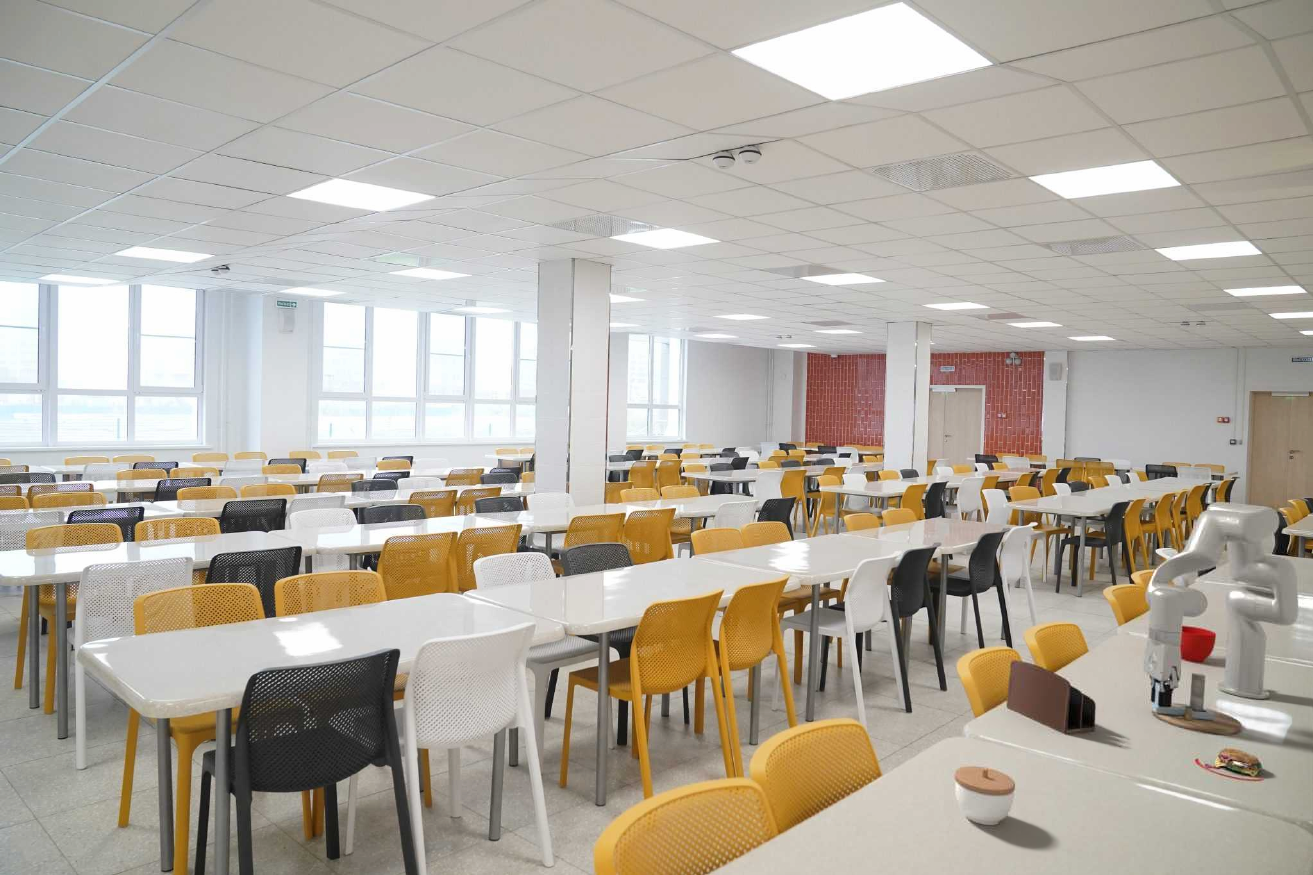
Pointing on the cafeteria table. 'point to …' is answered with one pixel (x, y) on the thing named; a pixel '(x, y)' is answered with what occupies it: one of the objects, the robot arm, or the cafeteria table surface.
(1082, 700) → the letter holder
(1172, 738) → the cafeteria table surface
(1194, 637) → the red bowl
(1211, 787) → the cafeteria table surface
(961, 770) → the lidded jar
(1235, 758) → the hamburger
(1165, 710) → the blue square ring handle
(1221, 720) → the post base
